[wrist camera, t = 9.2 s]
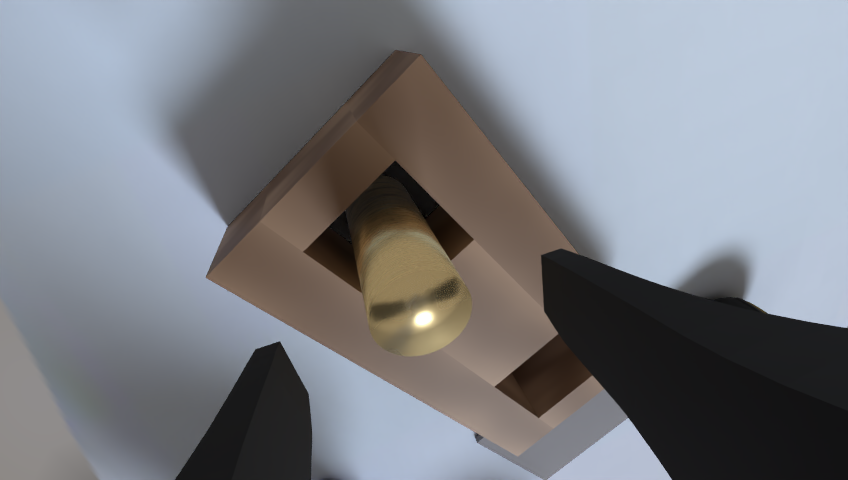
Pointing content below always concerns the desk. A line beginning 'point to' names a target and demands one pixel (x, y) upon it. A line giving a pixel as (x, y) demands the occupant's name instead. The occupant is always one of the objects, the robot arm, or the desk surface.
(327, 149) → the block
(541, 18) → the desk surface
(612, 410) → the rubber mat
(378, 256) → the brass pin
